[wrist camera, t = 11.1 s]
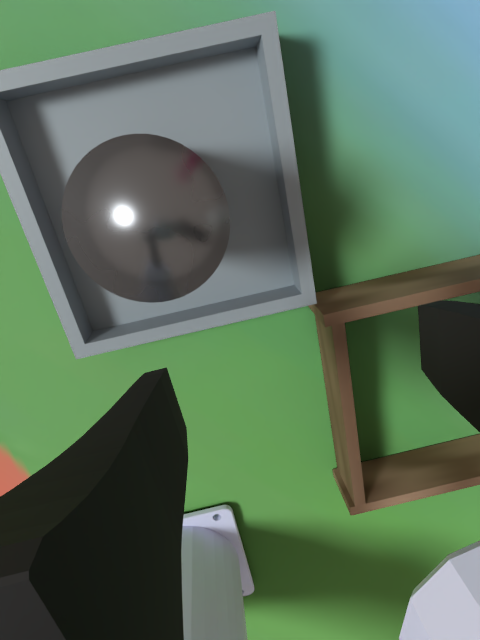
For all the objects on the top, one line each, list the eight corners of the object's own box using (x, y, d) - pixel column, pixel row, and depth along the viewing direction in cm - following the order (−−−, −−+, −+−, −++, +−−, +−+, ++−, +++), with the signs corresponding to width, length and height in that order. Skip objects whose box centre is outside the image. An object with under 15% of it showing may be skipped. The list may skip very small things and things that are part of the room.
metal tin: (132, 262, 18) (94, 317, 11) (99, 159, 16) (34, 154, 10) (227, 241, 18) (244, 283, 11) (204, 136, 16) (209, 116, 10)
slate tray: (90, 336, 20) (76, 359, 18) (-4, 91, 16) (-39, 78, 14) (303, 287, 20) (316, 303, 18) (263, 33, 16) (275, 10, 14)
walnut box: (333, 476, 25) (351, 515, 22) (306, 294, 20) (323, 315, 18) (530, 429, 25) (572, 462, 22) (546, 239, 21) (601, 250, 18)
